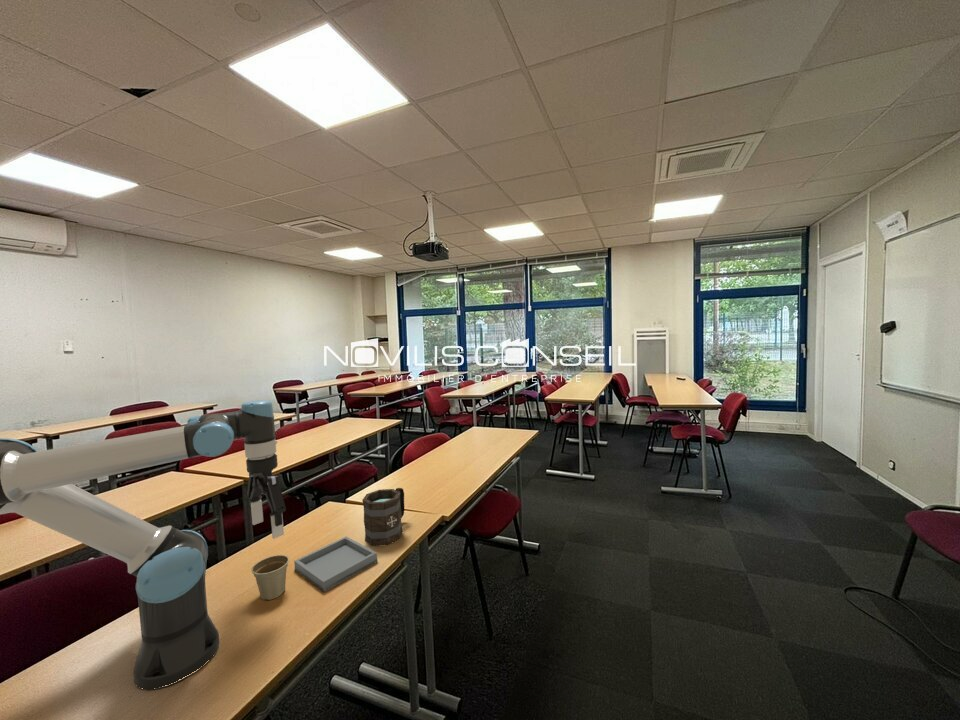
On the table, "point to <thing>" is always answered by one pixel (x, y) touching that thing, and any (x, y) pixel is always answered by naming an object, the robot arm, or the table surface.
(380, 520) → the mug
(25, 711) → the table surface
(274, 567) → the flower pot
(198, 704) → the table surface
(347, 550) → the tray
